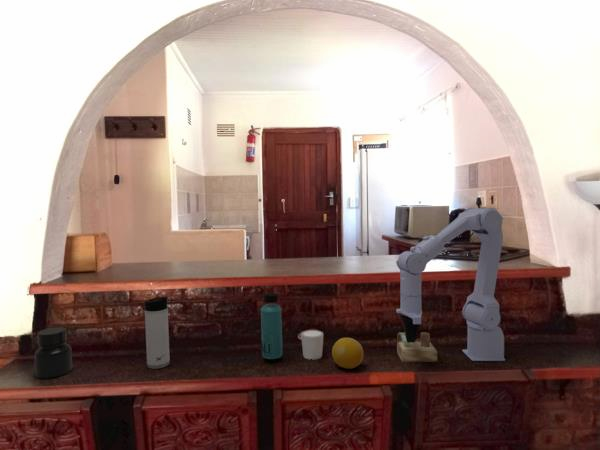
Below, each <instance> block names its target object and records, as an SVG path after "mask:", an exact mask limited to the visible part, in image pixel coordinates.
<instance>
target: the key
mask: <svg viewBox="0 0 600 450" xmlns="http://www.w3.org/2000/svg"><path fill="white" fill-rule="evenodd" d="M399 333H400V341H401V342H403V344H404V345H405V346H410V343H408V342H407V340H406V337H405V332H399Z"/></svg>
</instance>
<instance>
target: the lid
mask: <svg viewBox="0 0 600 450" xmlns="http://www.w3.org/2000/svg"><path fill="white" fill-rule="evenodd" d="M419 335H420V338H419V339H420V341H415V343H410V346H405V345H404V344H403V342H402V341H400V342H398V344H399V345H400V347H401V349H402V350H403V352H407V351H437V349H436V348H435V346H434V345H433V344H432V343H431V341H430V340H431V334H430V332H424V331H423V332H421V333H420V334H419Z"/></svg>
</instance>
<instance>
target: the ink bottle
mask: <svg viewBox="0 0 600 450" xmlns="http://www.w3.org/2000/svg"><path fill="white" fill-rule="evenodd" d="M67 336H68V335H67V328H66V327H60V326H58V327H55V326H54V327H49V328H46V329H45V328H44V329H42V330H40V331H38V332H37V341H38V343H37V344H38V349H36V350H35V353H34V365H35V366H34V368H35V376H36V378H39V379H51V378H57V377H62V376H64V375H67V374H68V373H69V372H70V371H72V369H73V351H72V346H71V345H70V344H69V343H67V341H68V339H67Z"/></svg>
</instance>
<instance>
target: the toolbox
mask: <svg viewBox="0 0 600 450" xmlns="http://www.w3.org/2000/svg"><path fill="white" fill-rule="evenodd" d="M400 333H401V332H398V333H397V334H396V335H397V336H396V338H397V339H396V353H397V355H398V357H399V358H400V360H401V363H437V362H438V350H436V351H407V352H403V350H402V349H401V347H400V345H399V344H398V342H401V340H400Z"/></svg>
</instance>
